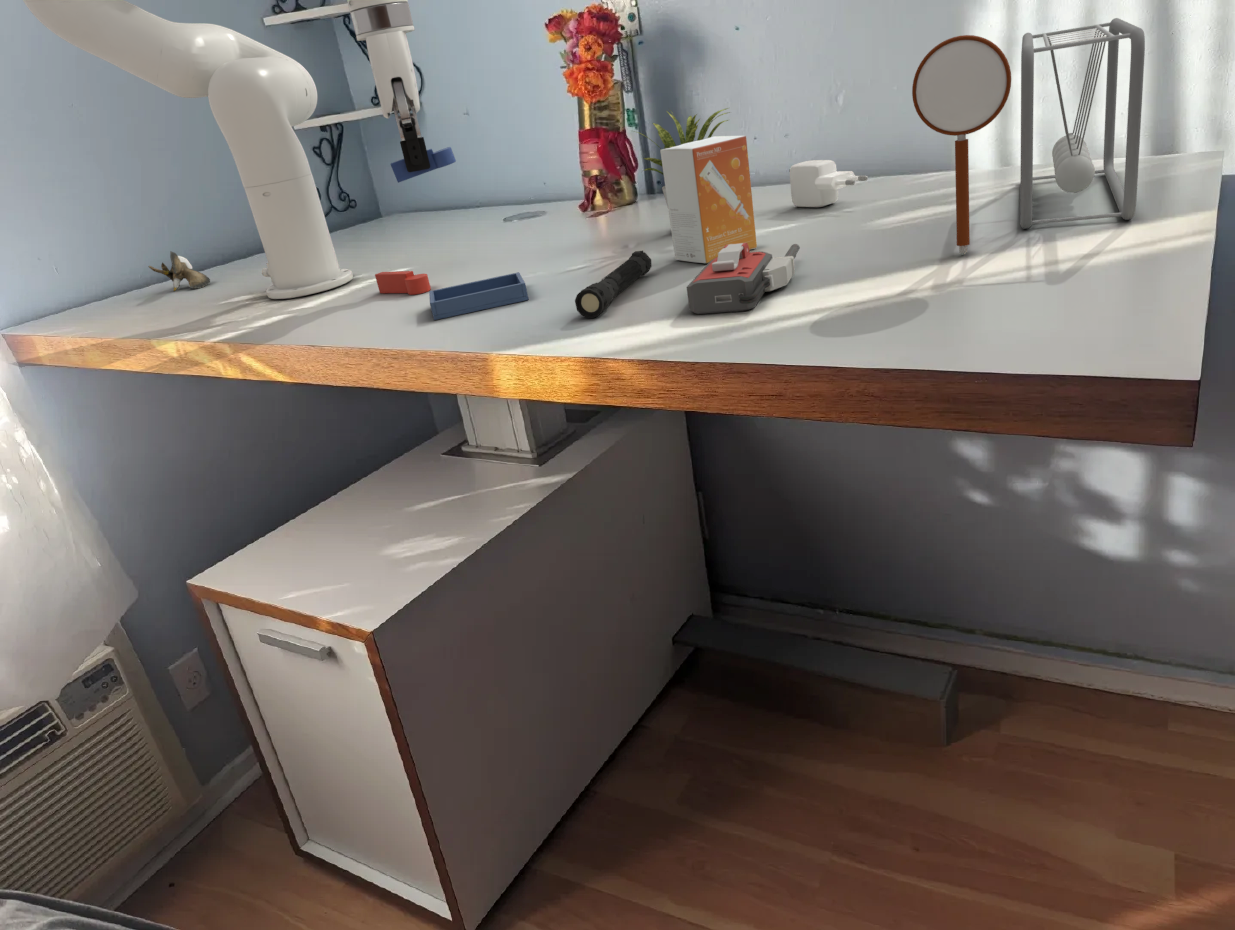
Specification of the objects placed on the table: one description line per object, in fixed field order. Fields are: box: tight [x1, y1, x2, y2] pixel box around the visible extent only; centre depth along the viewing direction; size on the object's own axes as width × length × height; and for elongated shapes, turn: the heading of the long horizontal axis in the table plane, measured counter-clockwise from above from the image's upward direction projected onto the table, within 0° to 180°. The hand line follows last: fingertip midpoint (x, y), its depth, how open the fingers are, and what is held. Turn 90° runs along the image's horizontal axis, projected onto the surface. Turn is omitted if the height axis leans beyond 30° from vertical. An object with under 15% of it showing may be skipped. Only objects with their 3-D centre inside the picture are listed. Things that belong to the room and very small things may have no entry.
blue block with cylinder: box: [390, 146, 457, 183], centre depth 126 cm, size 8×3×3 cm, turn 102°
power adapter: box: [789, 159, 869, 208], centre depth 126 cm, size 11×5×6 cm, turn 37°
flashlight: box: [574, 250, 653, 319], centre depth 100 cm, size 3×16×3 cm, turn 160°
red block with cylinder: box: [374, 270, 432, 296], centre depth 122 cm, size 8×3×3 cm, turn 57°
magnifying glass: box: [911, 34, 1012, 256], centre depth 88 cm, size 9×2×20 cm, turn 65°
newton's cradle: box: [1019, 17, 1146, 230], centre depth 102 cm, size 30×10×18 cm, turn 158°
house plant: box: [632, 107, 731, 208], centre depth 125 cm, size 14×14×16 cm
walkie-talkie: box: [686, 243, 801, 315], centre depth 93 cm, size 9×4×20 cm
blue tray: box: [428, 271, 529, 321], centre depth 108 cm, size 11×7×2 cm, turn 102°
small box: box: [659, 135, 758, 264], centre depth 108 cm, size 8×6×13 cm
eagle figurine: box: [148, 250, 211, 292], centre depth 157 cm, size 8×7×9 cm
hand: (419, 168), depth 127 cm, fingers closed on blue block with cylinder, 1 cm apart
